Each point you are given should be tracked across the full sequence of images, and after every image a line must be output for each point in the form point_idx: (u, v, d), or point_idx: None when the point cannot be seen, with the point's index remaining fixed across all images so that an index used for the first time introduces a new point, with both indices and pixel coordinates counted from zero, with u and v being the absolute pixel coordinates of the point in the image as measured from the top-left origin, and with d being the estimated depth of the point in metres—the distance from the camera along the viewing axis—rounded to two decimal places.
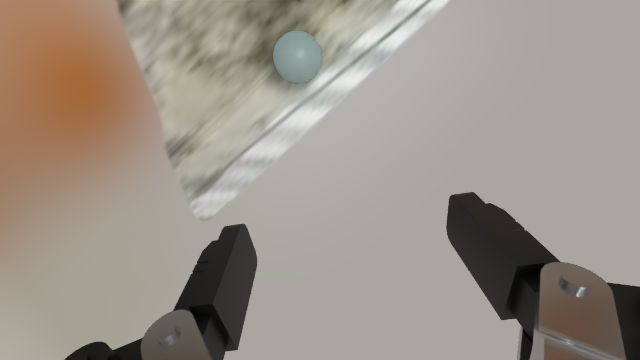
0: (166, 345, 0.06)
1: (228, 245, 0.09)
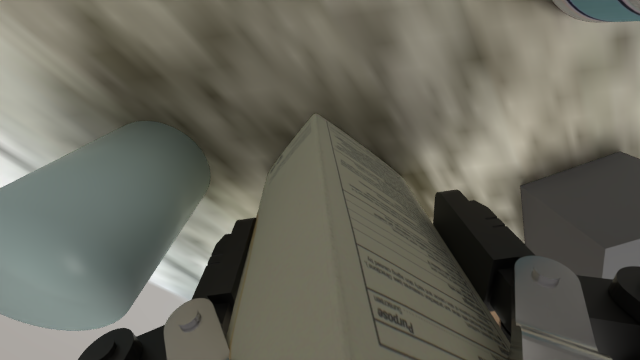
0: (188, 331, 0.06)
1: (242, 238, 0.09)
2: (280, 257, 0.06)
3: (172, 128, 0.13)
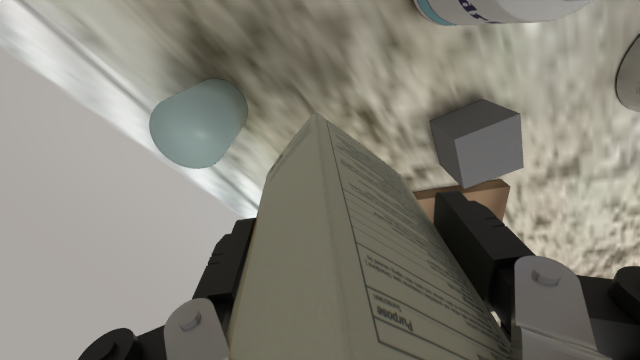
0: (189, 331, 0.06)
1: (242, 238, 0.09)
2: (280, 256, 0.06)
3: (228, 83, 0.23)
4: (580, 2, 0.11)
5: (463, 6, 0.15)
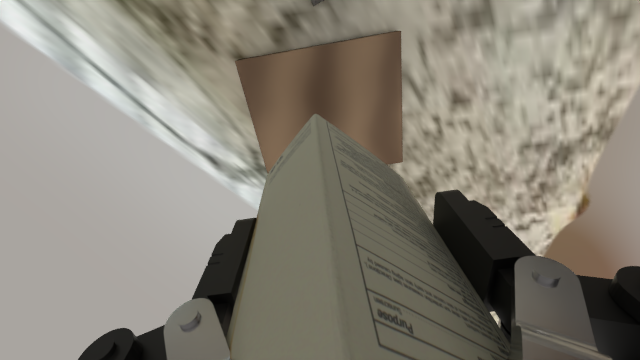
0: (189, 331, 0.06)
1: (242, 238, 0.09)
2: (280, 258, 0.06)
3: None
4: None
5: None
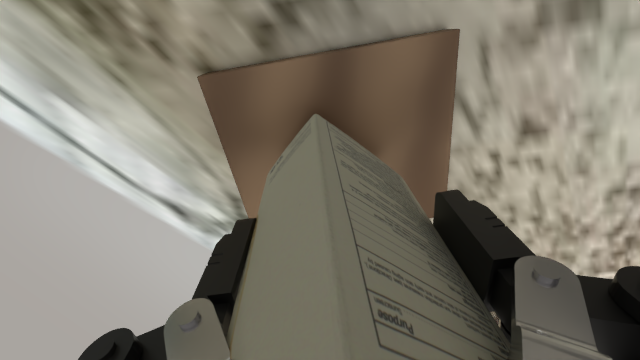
0: (189, 331, 0.06)
1: (242, 238, 0.09)
2: (280, 258, 0.06)
3: None
4: None
5: None
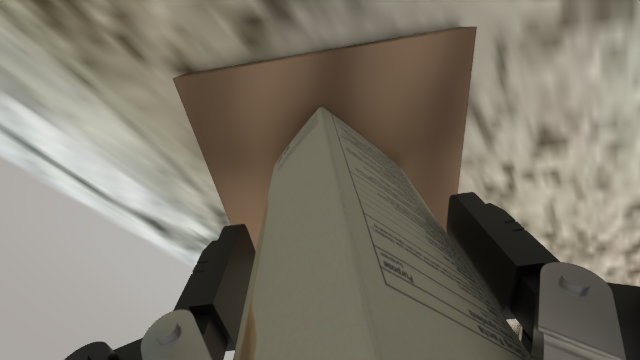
0: (166, 345, 0.06)
1: (228, 245, 0.09)
2: (294, 228, 0.07)
3: None
4: None
5: None
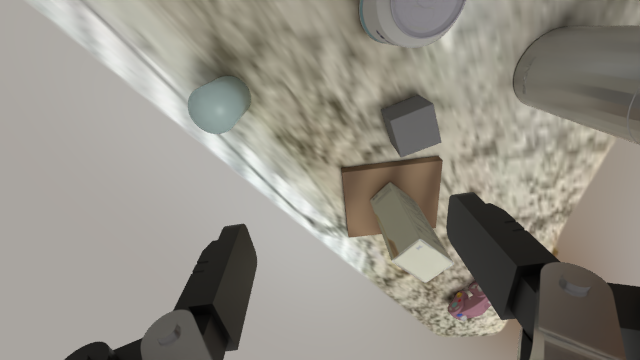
0: (166, 345, 0.06)
1: (228, 245, 0.09)
2: (396, 222, 0.32)
3: (238, 79, 0.33)
4: (427, 39, 0.21)
5: (379, 35, 0.25)
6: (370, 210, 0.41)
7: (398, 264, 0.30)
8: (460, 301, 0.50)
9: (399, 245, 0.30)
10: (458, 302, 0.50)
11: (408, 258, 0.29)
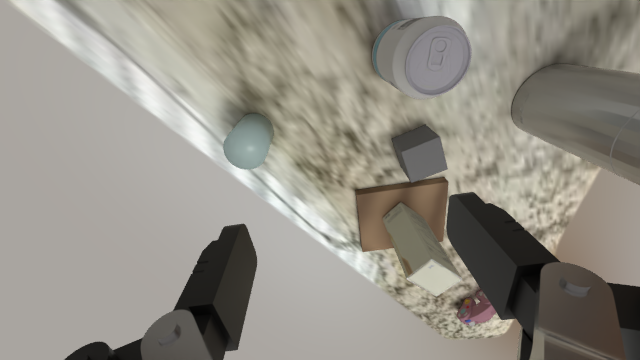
0: (166, 345, 0.06)
1: (228, 245, 0.09)
2: (408, 242, 0.36)
3: (262, 116, 0.37)
4: None
5: (393, 85, 0.28)
6: (382, 227, 0.45)
7: (412, 281, 0.34)
8: (468, 307, 0.54)
9: (413, 264, 0.34)
10: (466, 308, 0.54)
11: (421, 276, 0.33)
